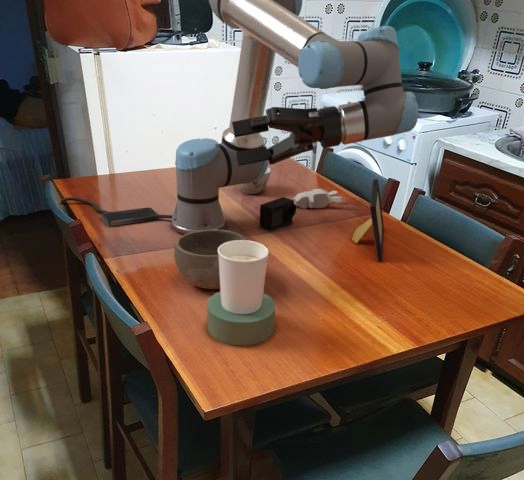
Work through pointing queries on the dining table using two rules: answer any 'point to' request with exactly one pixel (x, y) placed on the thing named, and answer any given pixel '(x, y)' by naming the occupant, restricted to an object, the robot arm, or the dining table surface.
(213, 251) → the bowl
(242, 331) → the stand
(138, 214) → the phone
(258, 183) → the teacup
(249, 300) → the candle holder
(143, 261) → the dining table surface
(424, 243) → the dining table surface
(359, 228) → the picture frame
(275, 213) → the digital camera
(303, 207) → the bunny figurine
